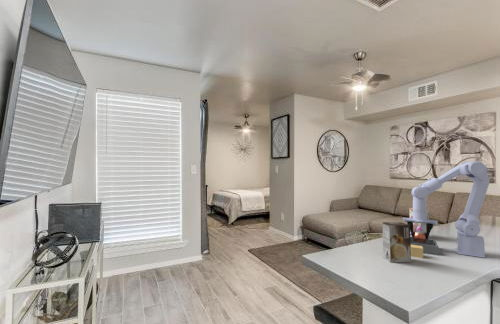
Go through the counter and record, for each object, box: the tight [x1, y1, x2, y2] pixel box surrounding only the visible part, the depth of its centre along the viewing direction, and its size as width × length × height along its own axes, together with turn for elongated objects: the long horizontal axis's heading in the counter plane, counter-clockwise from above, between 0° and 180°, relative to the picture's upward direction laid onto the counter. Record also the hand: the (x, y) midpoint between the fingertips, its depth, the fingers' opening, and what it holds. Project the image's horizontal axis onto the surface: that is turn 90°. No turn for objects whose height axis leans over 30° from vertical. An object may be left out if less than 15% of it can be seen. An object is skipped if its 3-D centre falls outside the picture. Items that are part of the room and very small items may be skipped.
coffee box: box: [381, 221, 412, 263], centre depth 110 cm, size 9×6×16 cm
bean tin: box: [413, 231, 427, 243], centre depth 125 cm, size 5×5×5 cm
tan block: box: [411, 245, 424, 259], centre depth 115 cm, size 5×5×4 cm
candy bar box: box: [408, 207, 430, 239], centre depth 147 cm, size 11×5×16 cm, turn 179°
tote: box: [410, 236, 440, 256], centre depth 125 cm, size 14×14×4 cm
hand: (419, 237), depth 125 cm, fingers closed on bean tin, 5 cm apart
